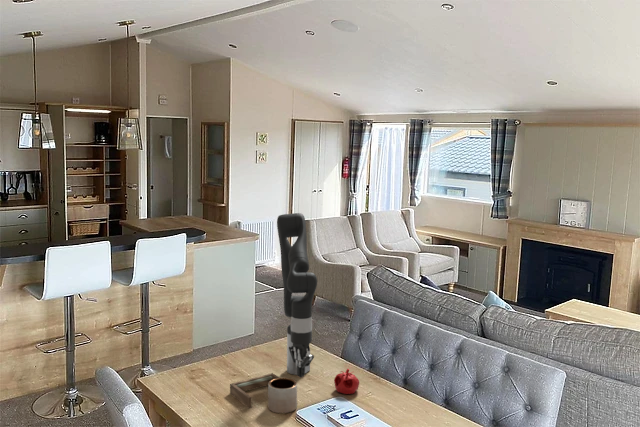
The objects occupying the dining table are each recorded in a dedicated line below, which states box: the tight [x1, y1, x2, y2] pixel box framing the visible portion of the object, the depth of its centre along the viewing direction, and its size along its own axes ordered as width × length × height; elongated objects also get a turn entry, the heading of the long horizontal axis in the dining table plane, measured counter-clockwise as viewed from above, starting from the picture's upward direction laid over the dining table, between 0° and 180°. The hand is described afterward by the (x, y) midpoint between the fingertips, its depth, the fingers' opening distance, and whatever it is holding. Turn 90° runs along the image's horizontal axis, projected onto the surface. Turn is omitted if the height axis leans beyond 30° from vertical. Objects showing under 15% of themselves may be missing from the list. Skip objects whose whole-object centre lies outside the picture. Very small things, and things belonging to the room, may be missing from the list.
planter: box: [267, 377, 298, 415], centre depth 211 cm, size 11×11×10 cm
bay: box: [229, 372, 280, 409], centre depth 223 cm, size 19×15×4 cm
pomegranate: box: [333, 368, 360, 395], centre depth 227 cm, size 10×10×9 cm
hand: (300, 376), depth 200 cm, fingers closed
